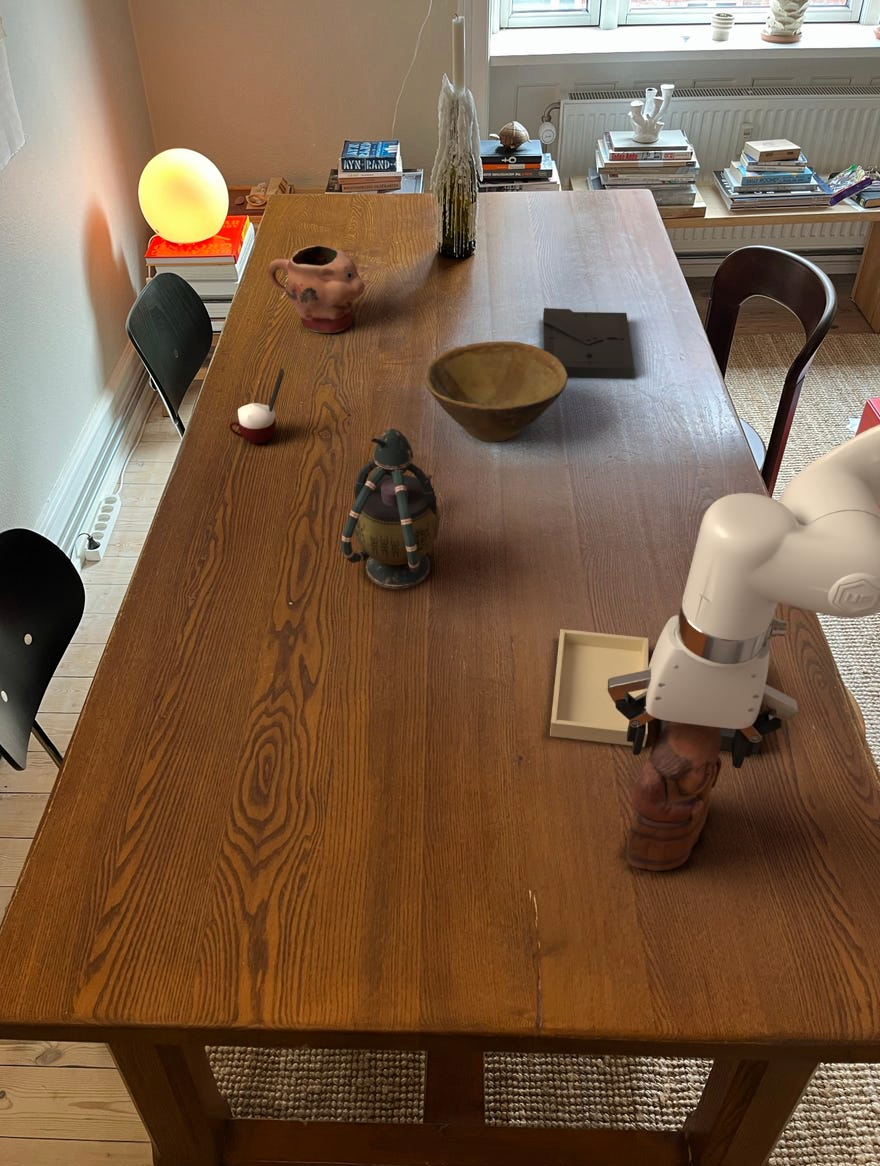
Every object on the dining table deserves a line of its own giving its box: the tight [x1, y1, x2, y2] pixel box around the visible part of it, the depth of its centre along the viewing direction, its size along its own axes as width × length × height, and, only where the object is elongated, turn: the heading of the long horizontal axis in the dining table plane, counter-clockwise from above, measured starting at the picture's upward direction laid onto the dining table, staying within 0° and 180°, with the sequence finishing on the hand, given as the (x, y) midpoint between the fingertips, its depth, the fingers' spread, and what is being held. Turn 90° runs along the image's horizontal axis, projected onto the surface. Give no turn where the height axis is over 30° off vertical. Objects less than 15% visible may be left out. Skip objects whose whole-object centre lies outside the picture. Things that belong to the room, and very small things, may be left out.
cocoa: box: [229, 368, 285, 445], centre depth 164 cm, size 10×6×12 cm, turn 78°
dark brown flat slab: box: [542, 307, 635, 379], centre depth 185 cm, size 16×3×21 cm
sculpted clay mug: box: [267, 245, 366, 334], centre depth 192 cm, size 20×12×14 cm, turn 73°
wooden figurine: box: [626, 721, 723, 872], centre depth 103 cm, size 12×6×18 cm, turn 144°
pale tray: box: [549, 628, 649, 748], centre depth 124 cm, size 11×16×2 cm
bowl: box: [424, 340, 569, 443], centre depth 165 cm, size 22×23×10 cm
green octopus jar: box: [340, 428, 441, 590], centre depth 138 cm, size 12×25×23 cm, turn 165°
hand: (685, 750), depth 99 cm, fingers open, 9 cm apart
